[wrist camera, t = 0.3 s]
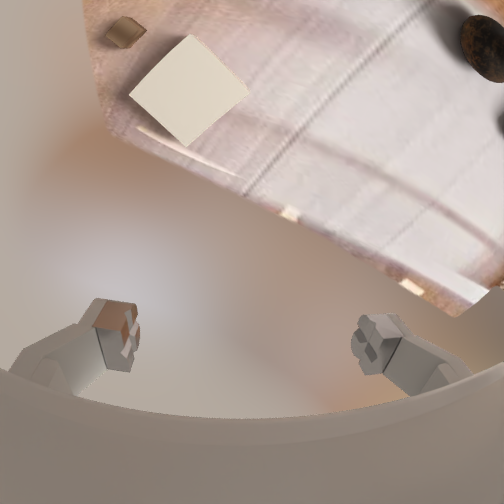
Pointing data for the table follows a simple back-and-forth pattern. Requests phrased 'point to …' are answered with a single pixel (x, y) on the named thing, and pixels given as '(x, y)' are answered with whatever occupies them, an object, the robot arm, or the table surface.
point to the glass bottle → (484, 46)
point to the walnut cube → (125, 32)
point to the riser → (189, 90)
